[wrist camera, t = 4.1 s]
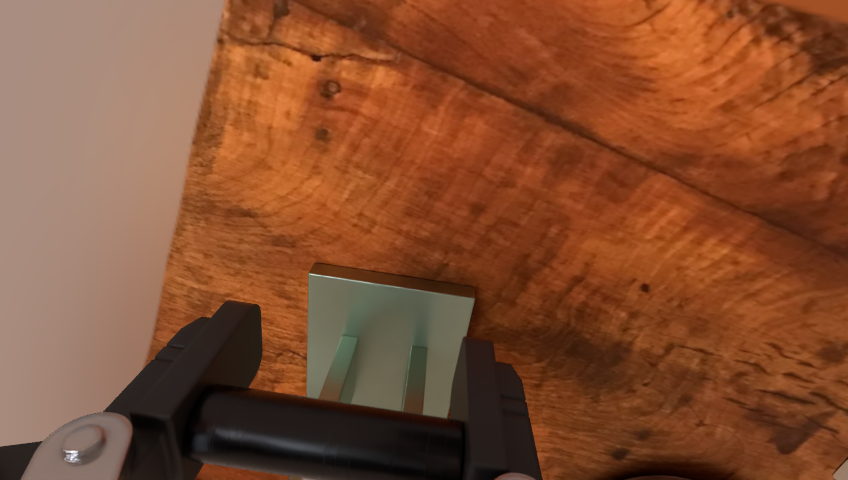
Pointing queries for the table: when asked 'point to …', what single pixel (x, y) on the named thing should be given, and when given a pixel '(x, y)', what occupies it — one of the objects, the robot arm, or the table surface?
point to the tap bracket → (384, 339)
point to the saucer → (658, 478)
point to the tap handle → (320, 437)
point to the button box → (842, 472)
